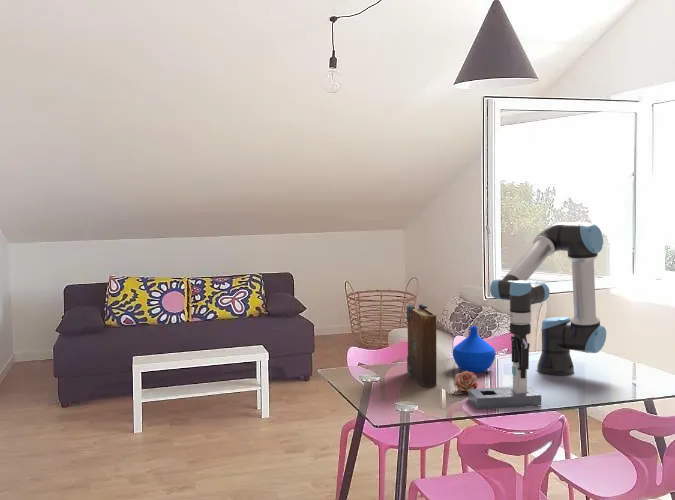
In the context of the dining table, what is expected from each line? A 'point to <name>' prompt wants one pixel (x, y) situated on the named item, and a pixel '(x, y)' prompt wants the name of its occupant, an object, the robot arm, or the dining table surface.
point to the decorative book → (421, 345)
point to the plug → (515, 380)
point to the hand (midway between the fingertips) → (519, 384)
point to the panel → (503, 398)
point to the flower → (466, 381)
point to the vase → (474, 353)
